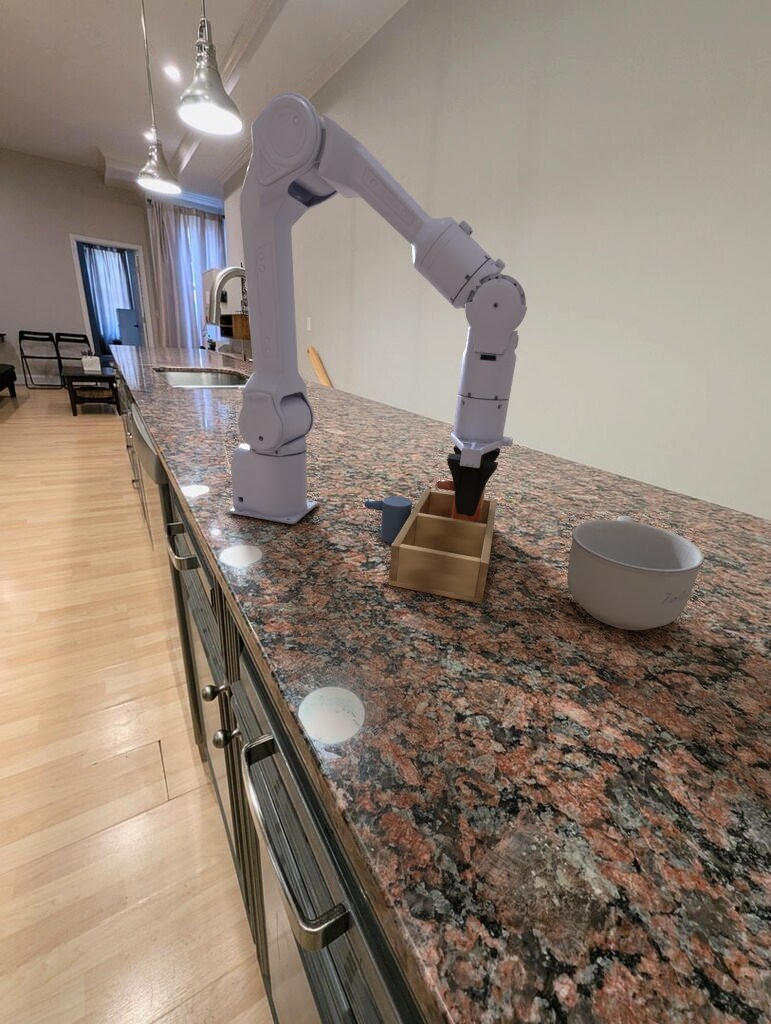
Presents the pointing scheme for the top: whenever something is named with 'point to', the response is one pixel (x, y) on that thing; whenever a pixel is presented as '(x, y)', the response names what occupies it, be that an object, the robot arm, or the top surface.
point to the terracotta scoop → (450, 486)
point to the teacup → (631, 572)
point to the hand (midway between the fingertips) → (466, 508)
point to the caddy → (443, 549)
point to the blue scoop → (391, 515)
